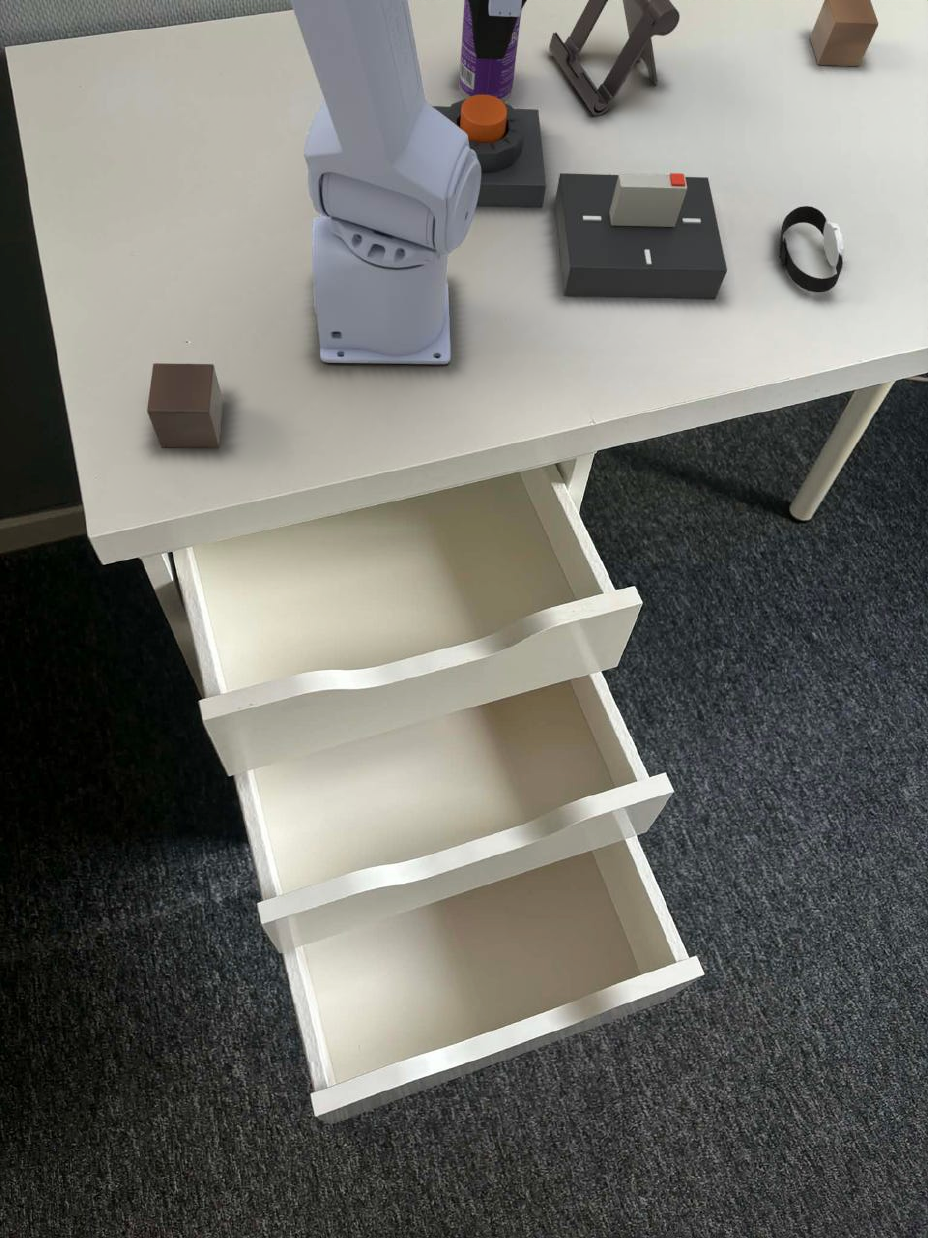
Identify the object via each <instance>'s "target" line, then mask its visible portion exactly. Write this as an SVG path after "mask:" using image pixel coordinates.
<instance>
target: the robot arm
mask: <svg viewBox="0 0 928 1238" xmlns="http://www.w3.org/2000/svg"><path fill="white" fill-rule="evenodd" d="M527 1H528V0H468V3H469V7H470V12H471V20H472V33H473V43H474V50H475V54H476V58H478V59H500V60H502V59H504V56H505V54H506V52H507V49H508V46H509V44H510V40H511V37H512V34H513V31H514V28H515V25H516V22H517V19H518V17H519V16H520V13H521V14H522V11H523V8H524V6H525V4H526V2H527ZM289 2H290V4H291V7H292V10H293V13H294V16H295V19H296V22H297V25H298V28H299V31H300V33H301V37H302V39H303V42H304V45H305V47H306V50H307V53H308V56H309V59H310V62H311V65H312V67H313V70H314V74H315V77H316V79H317V82H318V84H319V88H320V91H321V94H322V96H323V99H322V101H321V103H320V105H319V107H318V108H317V111H316V113H315V115H314V118H313V119H312V122H311V125H310V126H309V127H310V128H309V130H308V133H307V137H306V140H305V144H304V148H303V150H304V151H303V158H304V160H305V162H306V167H307V189H308V194H309V197H310V199H311V202H312V205H313V208H314V210H315V211H316V212H317V214H318V216H313V220H312V233H311V250H312V251H311V252H312V253H311V258H312V259H311V260H312V279H313V309H314V313H315V314H316V319H317V329H318V340H319V348H320V349H319V356H320V357H319V358H320V360H321V361H322V362H324V363H328V364H329V363H332V364H335V363H336V364H394V365H395V364H397V365H398V364H401V365H402V364H403V365H404V364H405V365H446V364H449V363H450V362H451V359H452V357H451V356H452V354H451V353H452V352H451V351H452V349H451V327H450V325H451V324H450V323H451V322H450V304H449V303H450V302H449V301H450V300H449V299H450V297H449V283H448V281H447V276H448V260H449V255H450V254H451V253H452V252H454V251H455V250H457V249H458V248H460V246H461V245H462V244H463V242H464V240H465V239H466V237H467V235H468V233H469V229H470V227H471V224H472V221H473V219H474V215H475V212H476V208H477V206H476V205H477V200H478V196H479V190H480V184H481V166H480V163H479V161H478V159H477V155H476V153H475V151H474V150H472V149H470V147H469V141H468V135H467V134H466V133H465V132H464V131H463V130H462V129H461V128H459V127H458V126H457V125H456V124H454V123H453V122H452V121H451V120H449V119H448V118H447V117H445V116H444V115H443V114H441V113H440V112H439V111H437V110H436V109H435V108H434V107H432V106H433V105H431V104H430V103H429V102H427V100H426V95H425V90H424V84H423V80H422V73H421V68H420V62H419V56H418V52H417V46H416V39H415V35H414V28H413V24H412V18H411V13H410V6H409V1H408V0H289ZM521 10H522V11H521ZM437 357H438V358H437Z"/></svg>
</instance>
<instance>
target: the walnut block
mask: <svg viewBox="0 0 928 1238" xmlns="http://www.w3.org/2000/svg"><path fill="white" fill-rule="evenodd" d="M151 371H152V372H151V377H150V385H149V391H148V392H149V393H148V400H147V409H146V412H147V415H148V417H149V420H150V423H151V426H152V428H153V430H154V433H155V435H156V438H157V441H158V444H159V446H160V447H161V448H217V449H218V448H220V443H221V433H222V424H223V423H222V421H223V410H224V398H223V394H222V391H221V387H220V383H219V379H218V375H217V371H216V369H215V365H214V363H163V362H162V363H153V364H152V370H151Z"/></svg>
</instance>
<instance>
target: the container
mask: <svg viewBox="0 0 928 1238" xmlns="http://www.w3.org/2000/svg"><path fill="white" fill-rule="evenodd" d="M463 2H464V3H463V17H462V33H461V35H462V36H461V50H460V64H459V65H460V67H459V82H458V83H459V84H458V87H459V90H460V94H461V95H462V96H463V98H464V99H468V98H469V97H471V96H474V95H490V96H494V97H496V98H498V99H500V100H501V101H502V102H503V103H505V102H506V101H507V100H508V99H509V98H510V97H511V96H512V92H513V86H514V80H515V79H514V78H515V71H516V61H517V52H518V45H519V44H518V43H519V36H520V29H521V28H520V27H521V20H522V19H521V18H522V11H523V9H522V10H521V13H520V16H519V17H518V19H517V22H516V25H515V28H514V31H513V34H512V37H511V40H510V44H509V46H508V49H507V52H506V54H505V56H504V59H502V60H500V59H478V58H476V54H475V50H474V43H473V33H472V20H471V12H470V7H469V3H468V0H463Z"/></svg>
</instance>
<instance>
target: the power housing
mask: <svg viewBox="0 0 928 1238" xmlns="http://www.w3.org/2000/svg"><path fill="white" fill-rule="evenodd" d="M465 100H466V98H464V99H462V100H459V101H457V102H454V103H452V104H450V106H445V105H444V106H439V105H431V106H432V107H434V108H435V109H436V110H437V111H439V112H440V113H441V114H443V115H444V116H445V117H447V118H448V119H449V120H451V121H452V122H453V123H454V124H456V125H457V126H458V127H459V128H460V122H461V107H462V104H463V103H464V101H465ZM503 103H504V104H505V106H506V108H507V118H506V127H505V133H504V135H503V137H502V138H501V139H500V140H498V141H495V142H493V143H477V142H474V141H472V140H470V139H468V141H469V147H470V149H472V150H474V151H475V153H476V155H477V159H478V161H479V163H480V166H481V184H480V190H479V196H478V200H477V205H476V207H499V208H501V207H502V208H503V207H504V208H539V209H540V208H541V209H542V208H543V207H544V206H543V205H544V201H545V196H546V195H545V194H546V188H547V180H546V172H545V161H544V152H543V142H542V133H541V122H540V113H539V112H540V111H539V109H534V108H533V109H531V108H530V109H529V108H514V107H513V106H512V105H510V104H508V103H505V102H503Z"/></svg>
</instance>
